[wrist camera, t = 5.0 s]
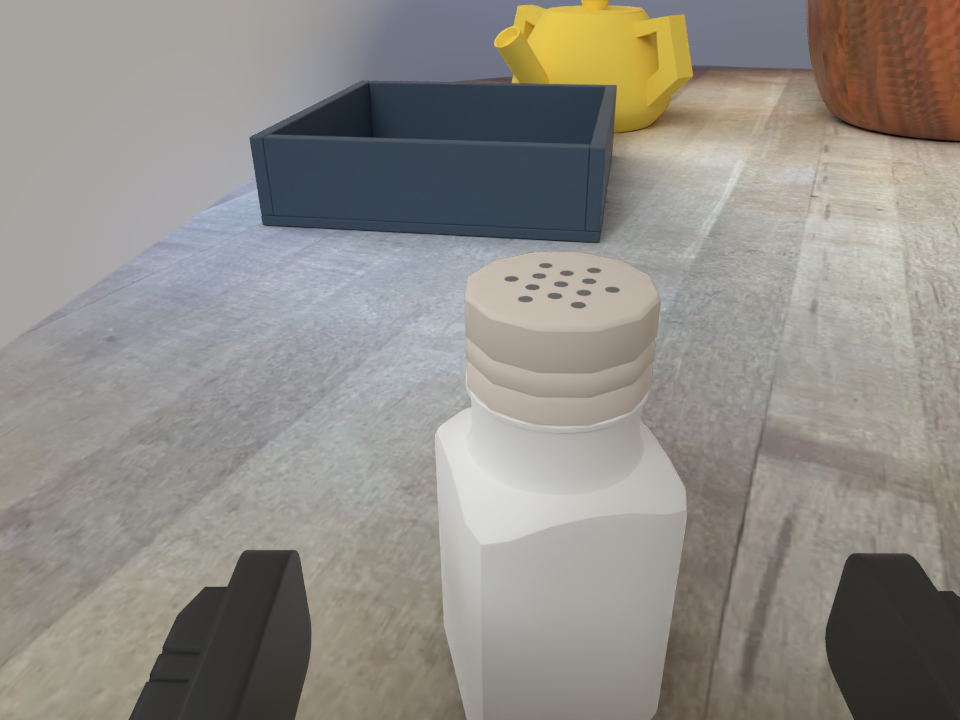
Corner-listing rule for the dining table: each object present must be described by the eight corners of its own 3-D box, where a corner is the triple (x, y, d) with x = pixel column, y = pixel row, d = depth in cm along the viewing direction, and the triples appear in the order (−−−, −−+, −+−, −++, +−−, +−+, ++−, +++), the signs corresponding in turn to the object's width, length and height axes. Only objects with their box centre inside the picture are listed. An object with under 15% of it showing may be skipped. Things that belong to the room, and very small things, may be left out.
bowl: (724, 108, 73) (743, -25, 68) (923, 90, 81) (954, -31, 75) (945, 172, 53) (998, -12, 47) (1184, 139, 60) (1254, -23, 54)
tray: (262, 225, 45) (248, 136, 42) (367, 146, 61) (361, 80, 59) (599, 242, 41) (605, 148, 39) (612, 154, 58) (617, 84, 56)
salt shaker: (440, 624, 18) (420, 252, 14) (596, 594, 19) (628, 233, 15) (476, 779, 15) (467, 355, 10) (665, 736, 16) (735, 323, 11)
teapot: (424, 121, 70) (418, -12, 64) (560, 95, 80) (564, -21, 75) (593, 161, 57) (603, -3, 51) (728, 123, 67) (747, -15, 62)
